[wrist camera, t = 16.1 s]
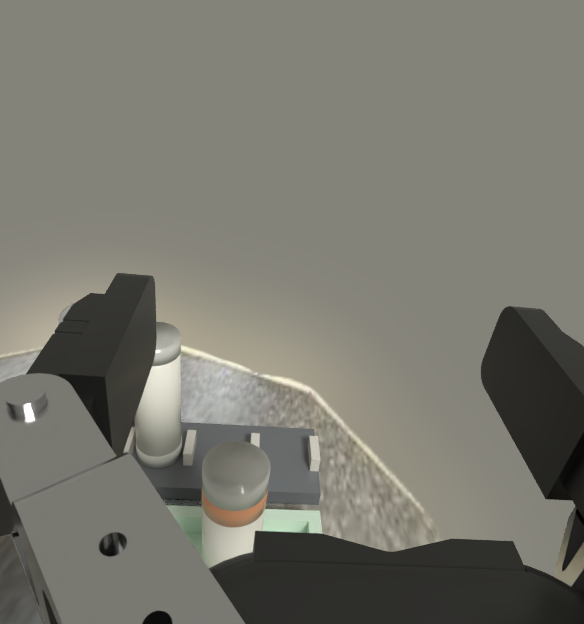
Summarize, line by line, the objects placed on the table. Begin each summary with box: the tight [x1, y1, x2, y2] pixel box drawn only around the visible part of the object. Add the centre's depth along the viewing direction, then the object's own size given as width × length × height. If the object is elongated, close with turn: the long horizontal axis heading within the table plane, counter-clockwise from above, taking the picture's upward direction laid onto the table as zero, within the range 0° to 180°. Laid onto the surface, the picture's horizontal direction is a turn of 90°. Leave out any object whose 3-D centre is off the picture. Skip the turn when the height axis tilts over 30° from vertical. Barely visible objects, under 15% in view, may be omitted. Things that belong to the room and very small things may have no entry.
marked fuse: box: [201, 441, 270, 568], centre depth 34 cm, size 4×4×13 cm
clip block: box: [123, 420, 320, 505], centre depth 47 cm, size 18×8×3 cm, turn 92°
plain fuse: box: [134, 322, 182, 469], centre depth 44 cm, size 4×4×13 cm
